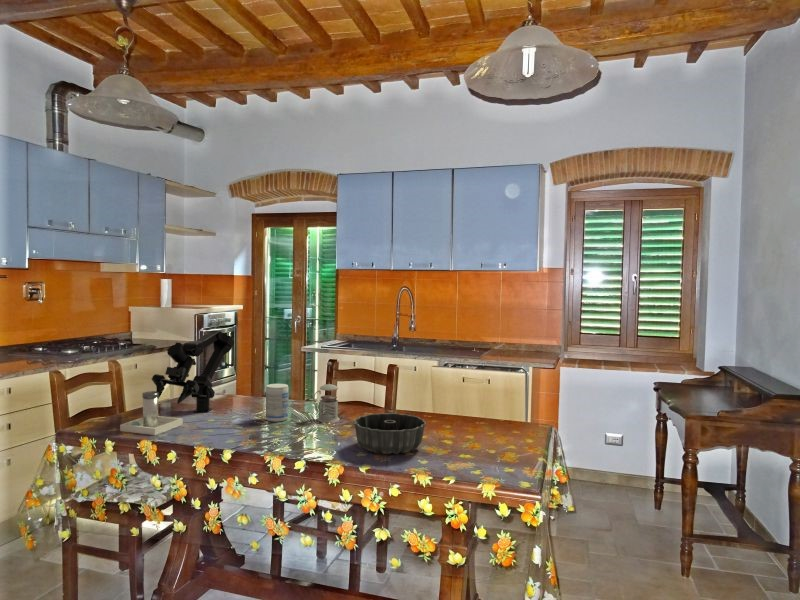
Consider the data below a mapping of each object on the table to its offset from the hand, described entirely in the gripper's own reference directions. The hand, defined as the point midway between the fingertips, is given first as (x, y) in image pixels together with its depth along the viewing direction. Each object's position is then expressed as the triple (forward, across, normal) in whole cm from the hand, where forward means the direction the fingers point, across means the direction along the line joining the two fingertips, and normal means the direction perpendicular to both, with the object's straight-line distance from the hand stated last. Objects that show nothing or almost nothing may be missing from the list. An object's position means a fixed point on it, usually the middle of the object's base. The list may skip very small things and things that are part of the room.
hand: (167, 401), depth 227 cm
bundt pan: (+8, +94, -12) cm, 95 cm away
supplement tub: (-7, +42, +15) cm, 45 cm away
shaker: (+12, -1, -1) cm, 12 cm away
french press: (-12, +62, +17) cm, 65 cm away
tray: (+12, -1, 0) cm, 12 cm away
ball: (+14, -6, -2) cm, 15 cm away
